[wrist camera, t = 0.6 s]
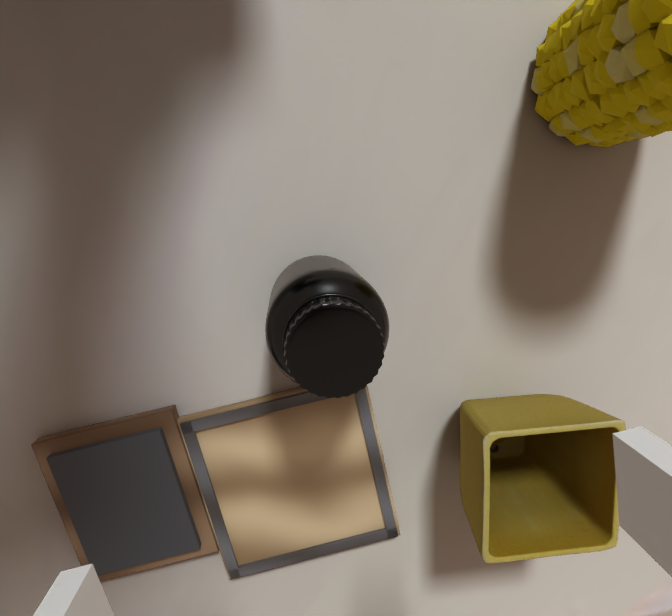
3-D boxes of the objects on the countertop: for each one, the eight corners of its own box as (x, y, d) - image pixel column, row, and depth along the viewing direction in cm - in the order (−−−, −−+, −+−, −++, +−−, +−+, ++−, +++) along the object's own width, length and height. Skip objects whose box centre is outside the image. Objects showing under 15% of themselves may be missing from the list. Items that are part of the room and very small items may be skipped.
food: (616, 159, 34) (489, 120, 34) (708, -25, 30) (564, -75, 29) (798, 199, 21) (591, 135, 20) (1026, -134, 16) (767, -239, 15)
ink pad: (50, 453, 33) (46, 458, 32) (161, 426, 33) (159, 430, 32) (97, 570, 35) (94, 576, 34) (201, 543, 35) (200, 549, 35)
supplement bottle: (307, 364, 34) (314, 446, 22) (251, 290, 33) (227, 336, 21) (384, 311, 34) (432, 367, 22) (331, 234, 32) (352, 249, 21)
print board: (179, 417, 34) (175, 422, 33) (363, 371, 35) (365, 376, 34) (230, 573, 37) (228, 582, 36) (398, 529, 38) (401, 537, 37)
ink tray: (38, 437, 33) (31, 445, 32) (175, 404, 34) (171, 410, 33) (94, 574, 36) (89, 584, 35) (220, 542, 36) (218, 551, 36)
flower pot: (437, 378, 35) (484, 434, 26) (547, 368, 36) (629, 420, 27) (438, 481, 37) (482, 565, 28) (543, 470, 38) (618, 550, 29)
